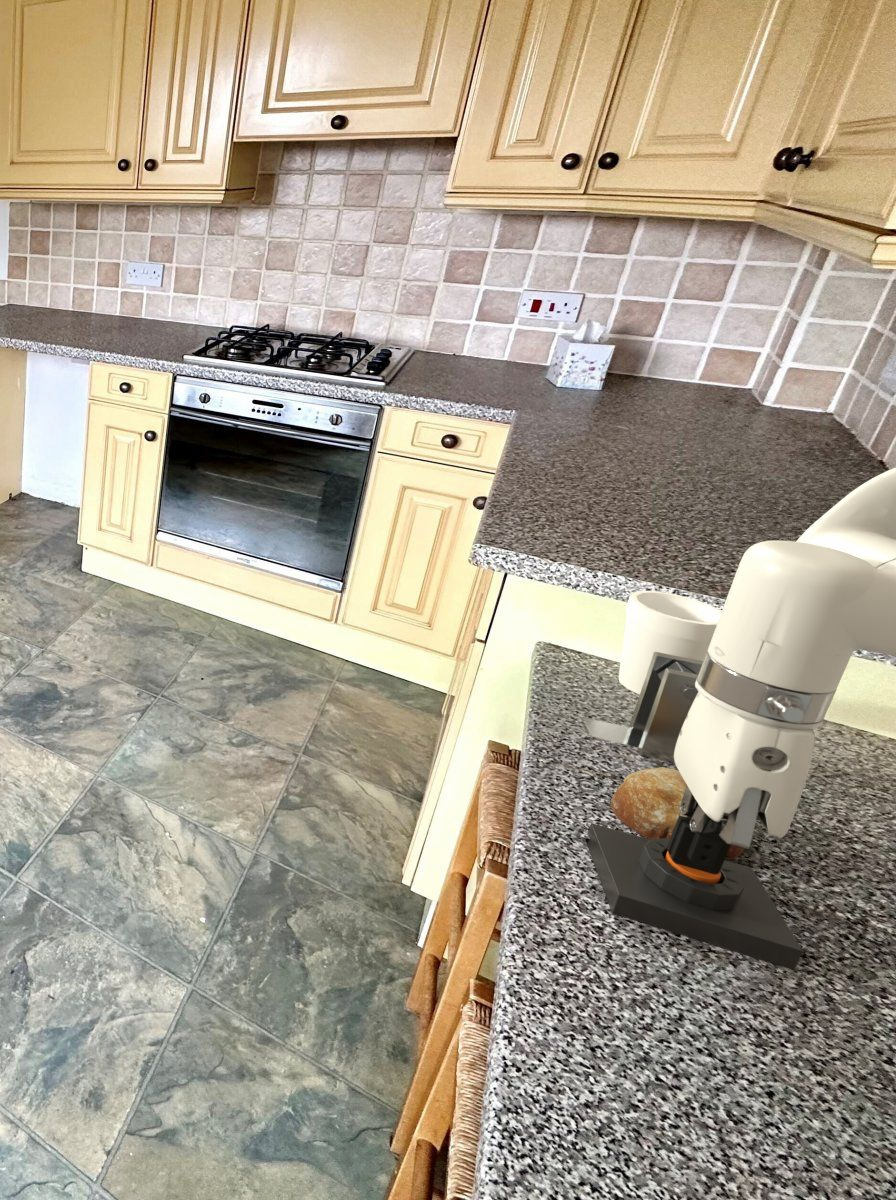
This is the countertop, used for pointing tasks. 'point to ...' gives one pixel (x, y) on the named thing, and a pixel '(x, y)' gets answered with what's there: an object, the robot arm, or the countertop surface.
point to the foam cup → (663, 632)
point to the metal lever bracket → (655, 710)
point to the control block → (690, 898)
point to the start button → (694, 872)
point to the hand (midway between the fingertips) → (691, 862)
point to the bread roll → (653, 803)
